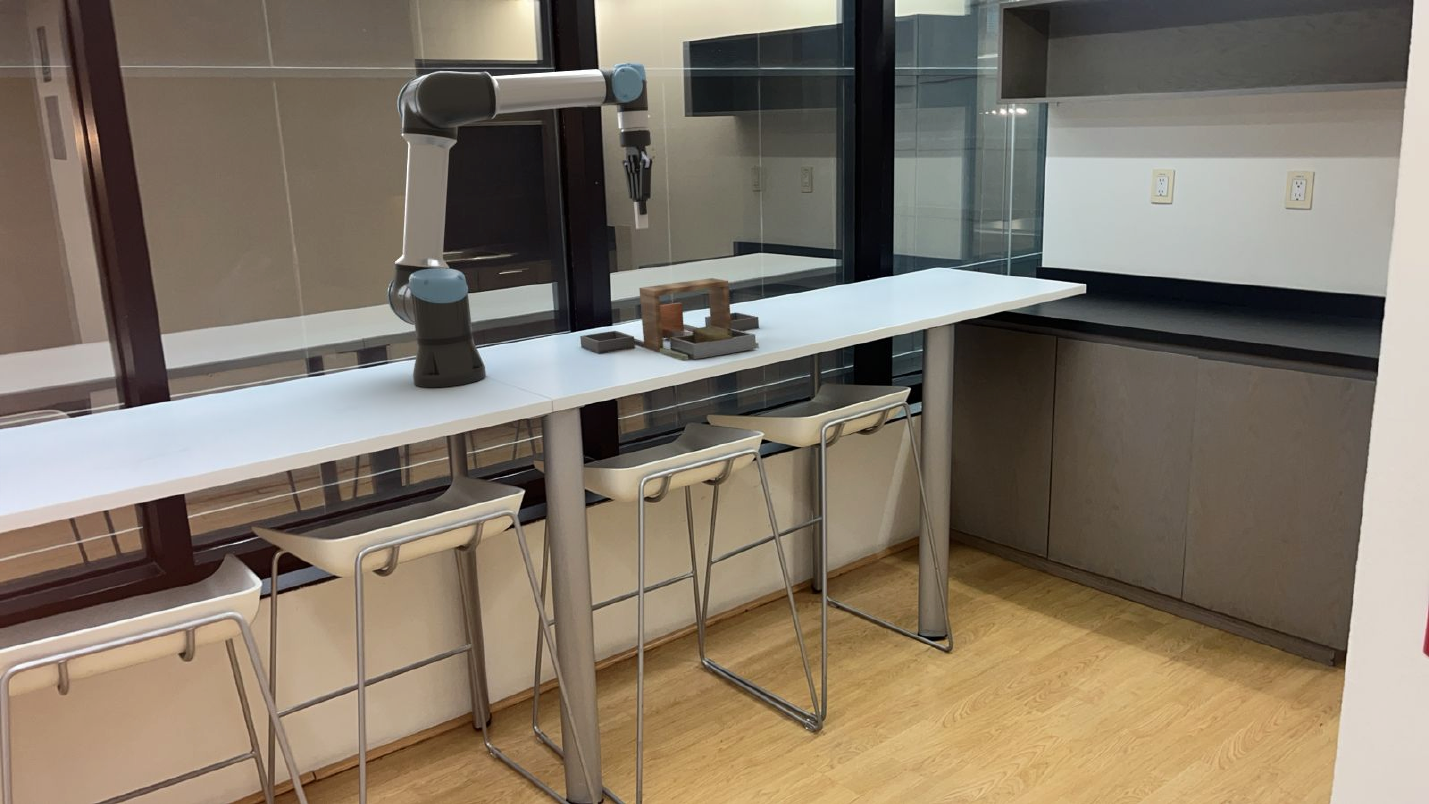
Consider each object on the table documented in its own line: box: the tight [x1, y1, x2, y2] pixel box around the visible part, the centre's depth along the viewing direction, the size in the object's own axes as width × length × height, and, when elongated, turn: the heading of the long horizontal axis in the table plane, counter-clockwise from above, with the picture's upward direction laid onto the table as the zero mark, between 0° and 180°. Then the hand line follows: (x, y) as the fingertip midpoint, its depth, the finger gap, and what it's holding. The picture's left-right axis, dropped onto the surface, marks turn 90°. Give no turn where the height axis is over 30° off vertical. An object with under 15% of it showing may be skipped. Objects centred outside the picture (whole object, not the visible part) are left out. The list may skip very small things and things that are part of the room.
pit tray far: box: [704, 311, 760, 332], centre depth 267 cm, size 9×11×3 cm
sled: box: [660, 302, 757, 360], centre depth 246 cm, size 16×30×8 cm, turn 28°
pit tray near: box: [579, 330, 636, 355], centre depth 252 cm, size 9×11×3 cm
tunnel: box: [634, 277, 759, 361], centre depth 250 cm, size 19×37×14 cm, turn 28°
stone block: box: [692, 325, 733, 344], centre depth 239 cm, size 6×12×5 cm, turn 25°
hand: (642, 228), depth 262 cm, fingers closed
